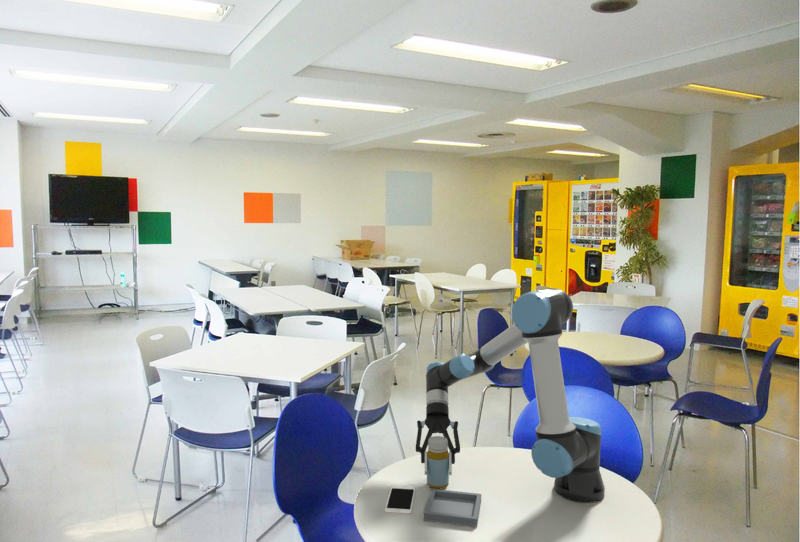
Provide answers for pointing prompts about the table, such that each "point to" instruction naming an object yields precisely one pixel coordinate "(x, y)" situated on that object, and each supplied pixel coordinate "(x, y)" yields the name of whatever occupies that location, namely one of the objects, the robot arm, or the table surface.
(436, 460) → the bottle
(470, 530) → the table surface
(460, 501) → the tray
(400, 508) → the cell phone
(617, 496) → the table surface
